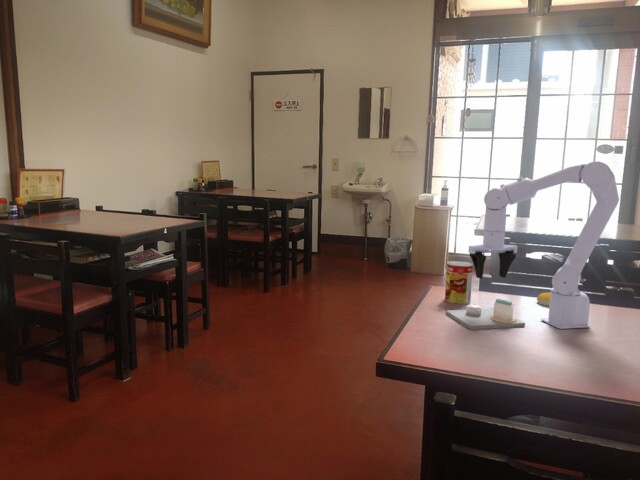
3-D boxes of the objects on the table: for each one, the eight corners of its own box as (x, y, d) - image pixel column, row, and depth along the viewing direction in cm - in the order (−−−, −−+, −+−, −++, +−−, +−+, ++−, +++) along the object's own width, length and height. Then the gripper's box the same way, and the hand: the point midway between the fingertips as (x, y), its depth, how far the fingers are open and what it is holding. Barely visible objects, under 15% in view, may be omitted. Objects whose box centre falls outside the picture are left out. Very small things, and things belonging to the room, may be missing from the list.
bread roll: (531, 302, 157) (532, 290, 157) (554, 300, 160) (555, 288, 159) (550, 309, 150) (551, 296, 149) (574, 307, 152) (575, 294, 152)
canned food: (446, 296, 162) (448, 260, 160) (471, 298, 159) (473, 262, 158) (443, 302, 155) (445, 264, 153) (469, 304, 152) (472, 266, 150)
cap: (515, 318, 135) (517, 301, 134) (506, 321, 132) (508, 304, 131) (498, 313, 138) (499, 297, 138) (489, 317, 135) (490, 300, 134)
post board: (495, 311, 146) (496, 301, 145) (524, 326, 132) (525, 315, 132) (445, 313, 142) (446, 303, 142) (470, 329, 129) (471, 318, 128)
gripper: (508, 228, 147) (504, 273, 149) (464, 229, 143) (461, 275, 145) (523, 231, 140) (519, 278, 142) (477, 232, 136) (474, 280, 138)
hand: (491, 277), depth 143 cm, fingers open, 7 cm apart
